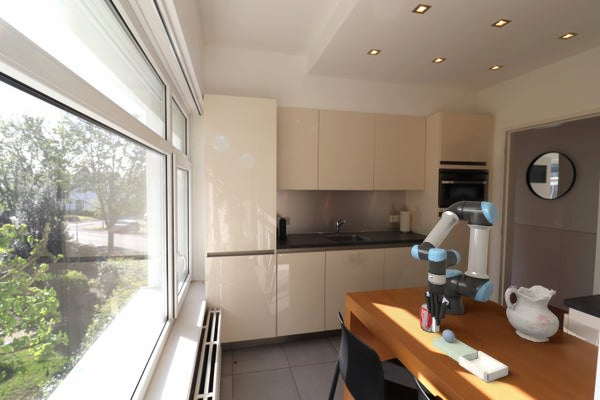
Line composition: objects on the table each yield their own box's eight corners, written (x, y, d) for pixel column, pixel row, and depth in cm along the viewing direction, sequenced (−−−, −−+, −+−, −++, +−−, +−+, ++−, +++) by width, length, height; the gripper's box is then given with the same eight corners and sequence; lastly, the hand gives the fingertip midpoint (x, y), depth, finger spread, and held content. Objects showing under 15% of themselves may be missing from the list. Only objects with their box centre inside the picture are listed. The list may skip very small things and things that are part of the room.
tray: (479, 358, 115) (479, 350, 115) (508, 374, 104) (508, 366, 104) (459, 364, 111) (459, 356, 110) (486, 382, 100) (486, 374, 100)
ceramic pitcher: (527, 350, 122) (534, 298, 119) (490, 325, 141) (495, 280, 138) (567, 346, 125) (574, 295, 122) (526, 322, 144) (531, 278, 141)
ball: (447, 337, 125) (448, 326, 125) (457, 343, 121) (457, 332, 120) (439, 339, 124) (439, 328, 123) (449, 345, 119) (449, 334, 119)
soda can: (437, 333, 134) (437, 310, 134) (421, 332, 135) (422, 308, 135) (433, 326, 141) (433, 304, 140) (418, 325, 142) (418, 302, 142)
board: (448, 340, 128) (448, 334, 128) (477, 358, 115) (477, 351, 115) (432, 345, 124) (432, 338, 124) (460, 363, 111) (460, 356, 111)
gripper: (419, 278, 132) (419, 325, 133) (442, 287, 120) (441, 339, 121) (431, 276, 135) (430, 323, 136) (454, 285, 123) (453, 336, 124)
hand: (435, 331), depth 129 cm, fingers closed
